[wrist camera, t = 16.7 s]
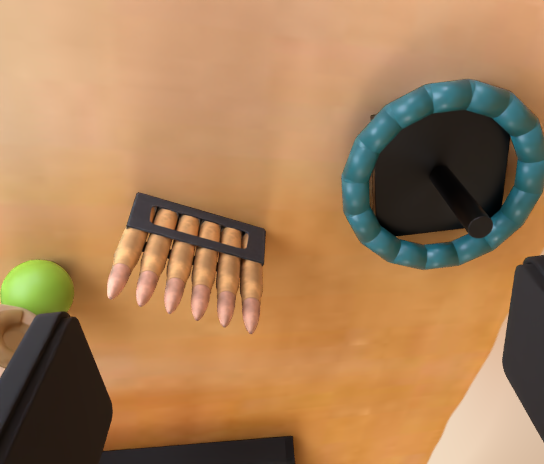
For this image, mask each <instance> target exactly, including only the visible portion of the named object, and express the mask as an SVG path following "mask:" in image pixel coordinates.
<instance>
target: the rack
mask: <svg viewBox="0 0 544 464" xmlns="http://www.w3.org/2000/svg"><path fill="white" fill-rule="evenodd" d="M375 116H376V115H371V120H372V119H373V118H374V117H375ZM509 142H510V134H509V133H508V132H506V131H505V130H504V129H503V128H502V127H501V126H500V125H499V124H498V123H497V122H496V121H495V120H494V119H493V118H491V117H488V116H485V115H481V114H478V113H474V112H471V111H467V110H458V111H449V112H441V113H433V114H431V115H429V116H427V117H425V118H423V119H421V120H419V121H417V122H415V123H413V124H411V125H409V126H407V127H406V128H404V129H402V130H401V131H400V132H399V133H398V134H397V135H396V136H395V138H394V139H393V140H392V141H391V142H390V143H389V144H388V145H387V146H386V147H385V148H384V149H383V150H382V151H381V152H380V154H379V157H378V159H377V162H376V164H375V167H374V169H373V171H372V199H373V212H374V214H375V216H376V218H377V220H378V222H379V224H380V225H381V226H382V227H383V228H385V229H386V230H387V231H389V232H390V233H391V234H393V235H394V236H403V235H411V234H420V233H428V232H437V231H445V230H453V229H462V228H465V229H466V231H467V232H468V234H469V235H470V236H471V237H473V238H483V237H485V236H487V235H488V234H489V233H490V232H491V231H492V229H493V221H492V220H491V217H492V216H493V215H495V214H496V213H497V212H498V211H499V210H500V209H501V207H502V200H503V192H504V183H505V175H506V167H507V158H508V150H509Z"/></svg>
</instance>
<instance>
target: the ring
mask: <svg viewBox="0 0 544 464" xmlns="http://www.w3.org/2000/svg"><path fill="white" fill-rule="evenodd" d="M458 110H467V111H471V112H474V113H478V114H481V115H485V116H488V117H491V118H493V119H494V120H495V121H496V122H497V123H498V124H499V125H500V126H501V127H502V128H503V129H504V130H505V131H506V132H508V133H509V134H510V136H511V139H512V142H513V145H514V148H515V151H516V154H517V157H518V160H517V168H516V175H515V183H514V186H513V188H512V189H511V191H510V193H509V195H508V196H507V198H506V200H505V202H504V204H503V205H502V207H501V209H500V210H499V211H498V212H497V213H496V214H495V215H493V216H492V217H491V220H492V221H493V229H492V231H491V232H490V233H489V234H488V235H487V236H485V237H483V238H473V237H471V236H470V235H469V234H467V235H464V236H462V237H460V238H458V239H456V240H453V241H451V242H444V243H435V244H426V245H422V244H418V243H414V242H409V241H405V240H401V239H398V238H397V237H395V236H394V235H393V234H391V233H390V232H389V231H387V230H386V229H385V228H383V227H382V226H381V225H380V224H379V222H378V220H377V218H376V216H375V214H374V212H373V210H372V209H371V207H370V200H369V179H370V176H371V174H372V171H373V169H374V167H375V164H376V162H377V159H378V157H379V154H380V152H381V151H382V150H383V149H384V148H385V147H386V146H387V145H388V144H389V143H390V142H391V141H392V140H393V139H394V138H395V136H396V135H397V134H398V133H399V132H400V131H401V130H402V129H404V128H406V127H407V126H409V125H411V124H413V123H415V122H417V121H419V120H421V119H423V118H425V117H427V116H429V115H431V114H433V113H441V112H449V111H458ZM341 179H342V198H343V211H344V214H345V216H346V218H347V220H348V222H349V223H350V225H351V227H352V229H353V231H354V232H355V234H356V236H357V238H358V240H359V241H360V242H361V243H362V244H363V245H365V246H366V247H367V248H369V249H370V250H372V251H373V252H374V253H376V254H377V255H379V256H380V257H381V258H383V259H384V260H386V261H387V262H390V263H394V264H398V265H403V266H407V267H412V268H416V269H421V270H426V269H434V268H443V267H452V266H459V265H461V264H464V263H466V262H468V261H471V260H473V259H475V258H477V257H480V256H482V255H484V254H486V253H489V252H491V251H493V250H494V249H496V248H497V247H498V246H499V245H500V244H502V243H503V242H504V241H505V240H506V239H507V238H508V237H510V236H511V235H512V234H513V233H514V232H515V231H517V230H518V229H519V228H520V227H521V226H522V225H523V224H524V223H525V221H526V219H527V218H528V216H529V214H530V213H531V211H532V209H533V208H534V206H535V204H536V203H537V201H538V199H539V198H540V196H541V194H542V192H543V188H544V136H543V132H542V129H541V126H540V122H539V120H538V118H537V117H536V115H535V114H533V113H532V112H531V111H530V110H529V109H528V108H527V107H526V106H525V105H524V104H523V103H522V102H521V101H520V100H519V99H518V98H517V97H516V96H515V95H514V94H513V93H512V92H510V91H508V90H506V89H503V88H499V87H496V86H492V85H489V84H486V83H482V82H479V81H476V80H472V79H463V80H455V81H447V82H439V83H431V84H425V85H423V86H421V87H419V88H417V89H415V90H413V91H411V92H410V93H408V94H406V95H404V96H402V97H400V98H398V99H396V100H394V101H393V102H391V103H389V104H387V105H385V106H384V107H383V108H382V109H381V110H380V112H379V113H378V114H377V115H376V116H375V117H374V118H373V119H372V120H371V122H370V123H369V124H368V125H367V126H366V127H365V128H364V129H363V130H362V132H361V133H360V134H359V135H358V136H357V137H356V139H355V141H354V144H353V146H352V149H351V151H350V154H349V157H348V159H347V162H346V165H345V167H344V170H343V173H342V178H341Z"/></svg>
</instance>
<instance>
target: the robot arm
mask: <svg viewBox="0 0 544 464" xmlns="http://www.w3.org/2000/svg"><path fill="white" fill-rule="evenodd" d="M502 363H503V369H504V372H505V374H506V377H507V378H508V380H509V382H510V384H511V385H512V387H513V389H514V390H515V393H516V394H517V396H518V398H519V400H520V401H521V403H522V405H523V407H524V408H525V410H526V412H527V414H528V415H529V417H530V419H531V421H532V423H533V424H534V426H535V428H536V430H537V431H538V433H539V435H540V437H541V438H542V440H543V442H544V255H541V256H532V257H527V258H525V260H524V262H523V265H518V266H517V267H516V270H515V275H514V282H513V289H512V296H511V302H510V309H509V316H508V323H507V330H506V338H505V344H504V351H503V359H502ZM112 413H113V410H112V403H111V400H110V397H109V395H108V392H107V390H106V387H105V385H104V382H103V380H102V377H101V375H100V372H99V370H98V368H97V365H96V363H95V360H94V358H93V355H92V353H91V350H90V348H89V345H88V343H87V340H86V338H85V335H84V333H83V330H82V328H81V325H80V323H79V321H78V319H77V318H76V317H70V315H69V314H68V313H67V312H65V311H61V312H53V313H44V314H38V315H36V317H35V318H34V319H33V321H32V323H31V324H30V326H29V328H28V330H27V332H26V333H25V335H24V337H23V339H22V340H21V342H20V344H19V346H18V347H17V349H16V351H15V353H14V355H13V356H12V358H11V360H10V362H9V363H8V365H7V367H6V369H5V370H4V372H3V374H2V376H1V378H0V464H99V462H100V458H101V455H102V451H103V448H104V444H105V441H106V437H107V434H108V431H109V427H110V424H111V420H112Z"/></svg>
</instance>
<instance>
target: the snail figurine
mask: <svg viewBox="0 0 544 464" xmlns="http://www.w3.org/2000/svg"><path fill="white" fill-rule="evenodd" d="M73 298H74V286H73V282H72V280H71V277H70V276H69V274H68V273H67V272H66V271H65V270H64V269H63V268H62V267H61V266H59V265H58V264H56V263H54V262H51V261H47V260H31V261H27V262H24V263H22V264H20V265H18V266H16V267H15V268H14V269H12V270H11V271H10V272H9V274H8V275H7V276H6V278H5V279H4V281H3V283H2V286H1V291H0V299H1V304H0V367H3V368H6V367H7V365H8V363H9V362H10V360H11V358H12V356H13V355H14V353H15V351H16V349H17V347H18V346H19V344H20V342H21V340H22V339H23V337H24V335H25V333H26V332H27V330H28V328H29V326H30V324H31V323H32V321H33V319H34V318H35V317H36V315H38V314H44V313H53V312H61V311H65V312H68V310H69V309H70V307H71V305H72V302H73Z"/></svg>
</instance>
